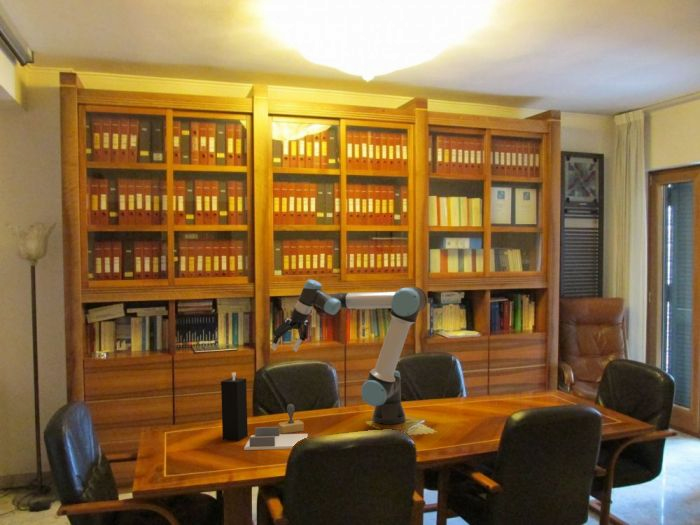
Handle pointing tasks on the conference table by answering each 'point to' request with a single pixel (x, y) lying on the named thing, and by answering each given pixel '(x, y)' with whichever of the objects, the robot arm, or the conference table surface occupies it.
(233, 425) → the black square column
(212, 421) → the conference table surface
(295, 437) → the docking plate
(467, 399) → the conference table surface
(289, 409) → the rubber stamp
